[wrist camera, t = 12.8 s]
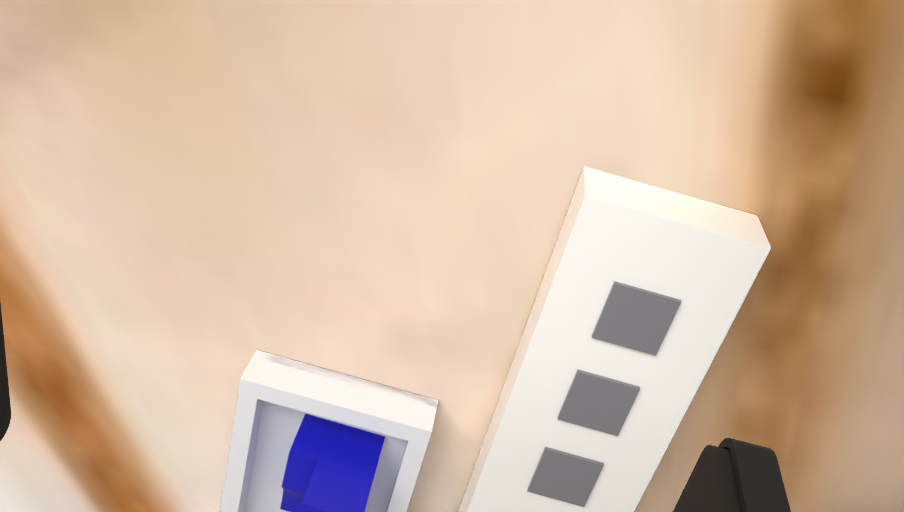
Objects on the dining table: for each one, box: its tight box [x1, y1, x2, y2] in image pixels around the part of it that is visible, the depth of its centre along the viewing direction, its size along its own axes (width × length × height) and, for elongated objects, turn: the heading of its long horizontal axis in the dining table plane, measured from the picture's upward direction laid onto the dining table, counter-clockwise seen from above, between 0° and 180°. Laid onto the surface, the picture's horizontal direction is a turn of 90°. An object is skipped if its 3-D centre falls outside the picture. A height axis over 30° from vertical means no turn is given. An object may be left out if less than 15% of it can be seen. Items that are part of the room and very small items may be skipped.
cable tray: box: [220, 350, 439, 512], centre depth 48 cm, size 10×18×2 cm, turn 166°
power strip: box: [458, 166, 771, 512], centre depth 42 cm, size 8×24×4 cm, turn 166°
